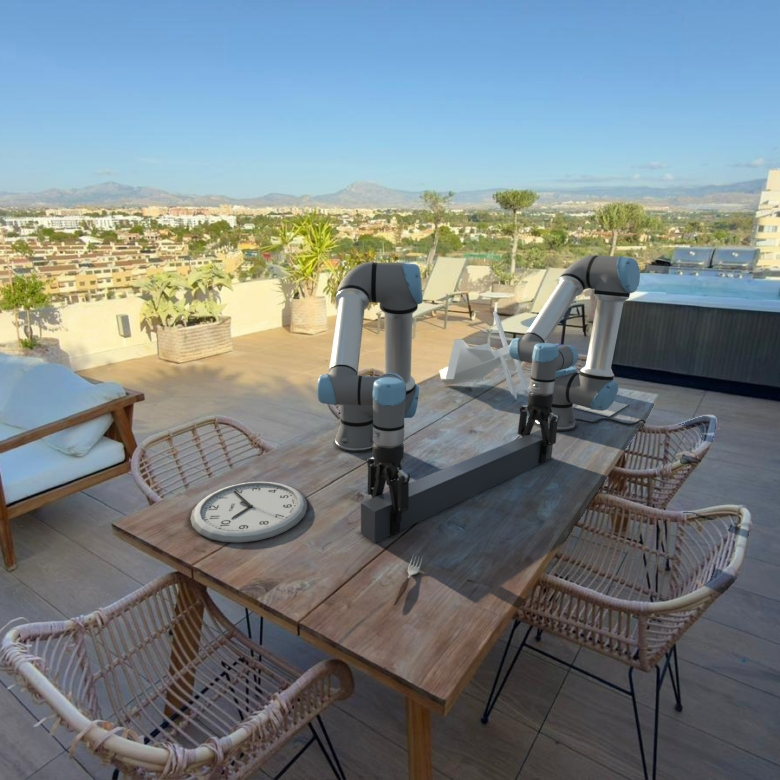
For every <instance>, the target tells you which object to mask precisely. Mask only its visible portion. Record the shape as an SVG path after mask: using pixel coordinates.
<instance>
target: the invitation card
mask: <svg viewBox="0 0 780 780" xmlns="http://www.w3.org/2000/svg"><path fill="white" fill-rule="evenodd" d="M628 406H629V404H627V403H623V402H618V401H614V402H613V403H612V404H611V406H610V407H609V408H608V409H606V410H604V411H600V410H595V409H593V410H592V409H590V408H587V407H583V406H580V405H575V406H574V407H573V409H575V410H581V411H584V412H587V413H593V414H596V415H600V416H604V417H607V418H610V417H611V416H613V415H614V414H616V413H617V412H619V411H621V410H623V409H624V408H626V407H628Z"/></svg>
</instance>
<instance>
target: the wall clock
mask: <svg viewBox="0 0 780 780" xmlns="http://www.w3.org/2000/svg"><path fill="white" fill-rule="evenodd" d="M307 503H308V502H307V499H306V498H305V496H304V495H303V493H301V492H300V491H298V490H297V489H295V488H294V487H291V486H289V485H286V484H283V483H280V482H279V483H278V482H272V481H249V482H248V481H247V482H242V483H238V484H232V485H229V486H226V487H223V488H220V489H218V490H216V491H213V492H211V493H210V494H208V495H207V496H205V497H204V498H202V499H201V500H200V501H199V502H198V503H197V504H196V505H195V507H194V508H193V509H192V511H191V515H190V523H191V526H192V528H193V529H194V531H196V532H197V533H198V534H199V535H201V536H203V537H205V538H208V539H210V540H214V541H218V542H222V543H239V544H240V543H249V542H256V541H262V540H265V539H269V538H274V537H276V536H278V535H280V534H282V533H286V532H287V531H289V530H290V529H292V528H293V527H295V526H296V525H298V524H299V523H300V522H301V521H302V519H303V518H304V517H305V516H306V513H307V510H308V504H307Z"/></svg>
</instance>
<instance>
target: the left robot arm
mask: <svg viewBox="0 0 780 780" xmlns="http://www.w3.org/2000/svg"><path fill="white" fill-rule="evenodd" d="M421 274H422V273H421V268H420V266H419V265H418V264H416V263H409V262H404V261H403V262H373V261H367V262H363V263H360V264H358V265H356V266H355V267H353V268H352V269H350V270H349V271H348V272H347V273H346V275H345V276H344V277H343V278H342V280H341V281H340V283H339V285H338V287H337V288H336V289H337V290H336V294H335V304H336V305H337V311H336V318H335V325H334V333H333V339H332V346H331V353H330V359H329V360H330V361H329V364H328V365H329V366H328V373H325V374H321V375H319V376H318V379H317V383H316V384H317V385H316V386H317V387H316V393H317V399H318V401H319V403H320V404H325V405H333V406H337V405H338V406H339V407H340V408H339V409H340V410H339V411H338V415H339V416H340V417H339V418H340V423H339V427H338V429H337V433H336V435H335V441H334V442H335V446H336V447H337V448H338V449H339V450H342V451H345V452H350V453H363V452H369V451H372V457H369V458H367V459H366V465H367V488H366V490H367V491H366V492H367V495H368V496H371V499H372V498H374V497H376V496H379V495H381V494H384V490H385V486H386V485H387V486H388V489H389V490H388V491H390V496H391V502H392V508H393V510H391V511H390V534H391V535H390V536H393V535H396V534H398V533H400V532H401V531H400V522H401V521H402V512H404V511H406V510H408V509H409V483H410V479H411V474H410V473H408V472H407V473H405V472H404V471H403V467H402V460H403V459H404V457H405V444H404V442H405V419H411V418H413V417H414V416H415V415H416V413H417V409H418V405H419V404H418V403H419V395H420V385H419V384H417V383H416V380H415V378H414V377H413V376H412V345H413V342H412V341H413V314H415V312H416V311H418V309H419V308H418V307H419V305H421V304H423V301H424V297H423V296H424V295H423V283H422V282H423V281H422V275H421ZM370 303H378V304H379V310H380V311H381V312H382V313H384V374H382V375H358V374H359V364H360V357H361V346H362V338H363V329H364V328H363V327H364V317H365V310H367V308H368V307H369V304H370Z"/></svg>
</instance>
